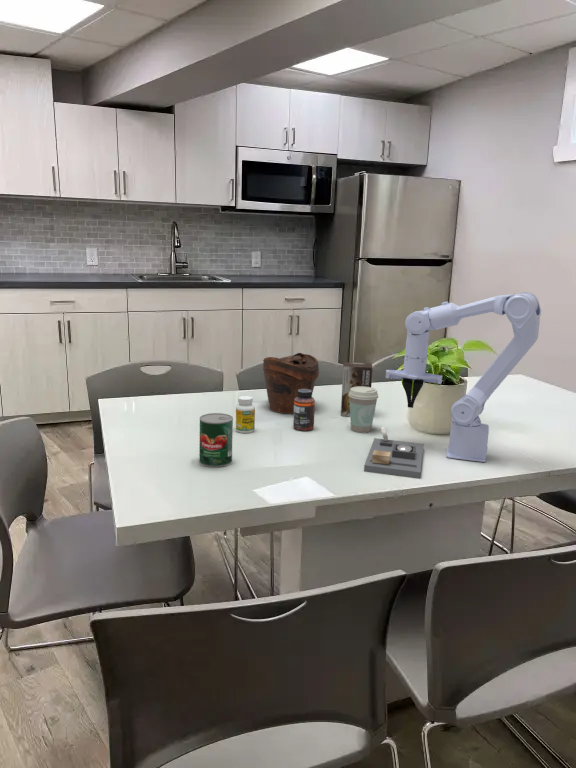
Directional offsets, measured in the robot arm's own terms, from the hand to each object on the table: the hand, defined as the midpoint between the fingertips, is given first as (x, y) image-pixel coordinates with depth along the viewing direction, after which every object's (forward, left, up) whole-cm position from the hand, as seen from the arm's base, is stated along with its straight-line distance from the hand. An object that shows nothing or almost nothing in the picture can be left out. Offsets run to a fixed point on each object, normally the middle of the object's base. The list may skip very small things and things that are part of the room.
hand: (410, 406), depth 158 cm
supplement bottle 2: (+30, -3, -11) cm, 32 cm away
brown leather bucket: (+39, -22, -11) cm, 46 cm away
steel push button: (0, +14, -8) cm, 16 cm away
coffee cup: (+14, -8, -11) cm, 19 cm away
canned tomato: (+44, +30, -11) cm, 54 cm away
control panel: (+2, +14, -10) cm, 17 cm away
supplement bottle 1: (+45, +5, -11) cm, 46 cm away
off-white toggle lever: (+5, +7, -8) cm, 12 cm away
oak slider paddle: (+5, +21, -9) cm, 23 cm away
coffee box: (+18, -23, -11) cm, 31 cm away
